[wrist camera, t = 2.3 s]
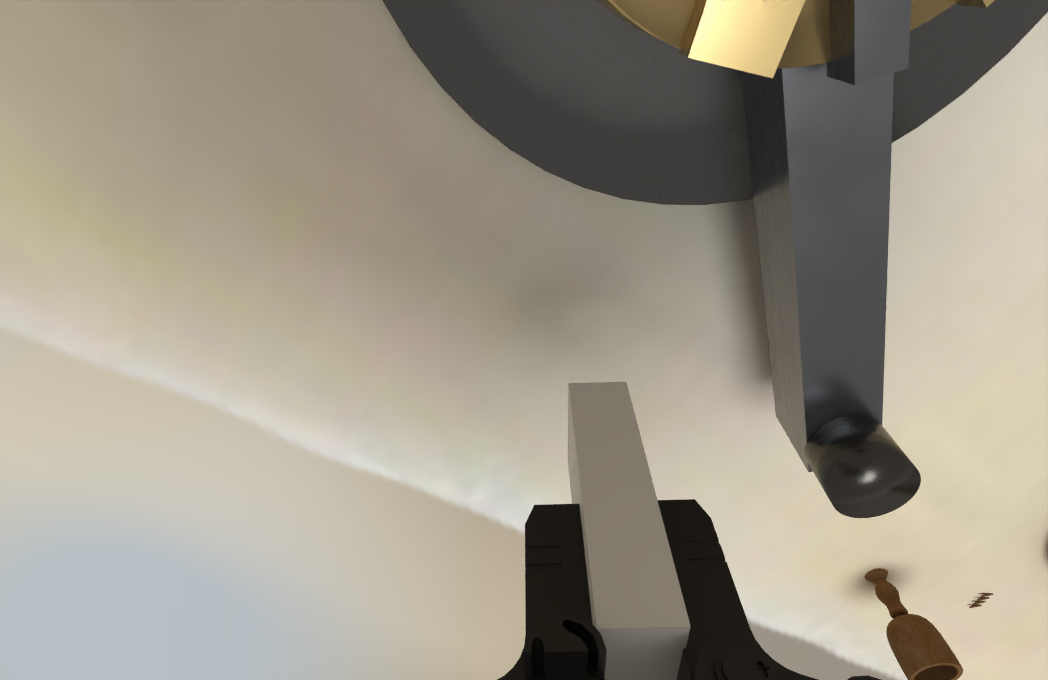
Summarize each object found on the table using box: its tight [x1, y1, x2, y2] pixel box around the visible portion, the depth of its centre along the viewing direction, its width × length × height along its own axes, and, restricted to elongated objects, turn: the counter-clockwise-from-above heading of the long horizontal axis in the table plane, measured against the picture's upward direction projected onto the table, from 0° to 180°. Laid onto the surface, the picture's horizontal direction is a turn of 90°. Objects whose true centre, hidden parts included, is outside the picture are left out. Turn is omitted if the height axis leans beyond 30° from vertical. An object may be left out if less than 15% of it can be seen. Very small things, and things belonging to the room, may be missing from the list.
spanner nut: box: [598, 0, 995, 518], centre depth 14 cm, size 25×11×5 cm, turn 18°
